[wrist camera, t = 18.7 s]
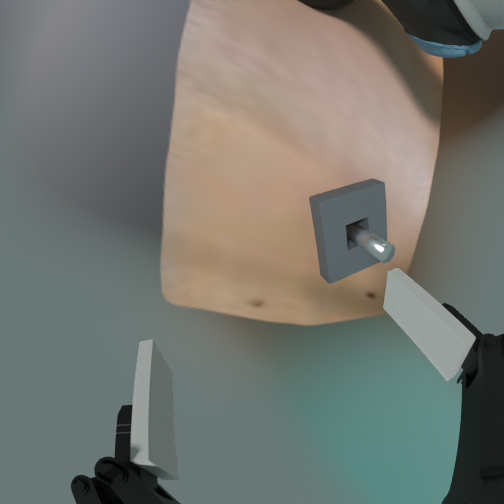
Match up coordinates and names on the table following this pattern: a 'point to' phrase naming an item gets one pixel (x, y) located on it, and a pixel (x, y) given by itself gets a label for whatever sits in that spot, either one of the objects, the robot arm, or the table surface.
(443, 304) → the robot arm
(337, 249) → the hole block
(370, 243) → the peg
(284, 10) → the table surface
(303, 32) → the table surface
